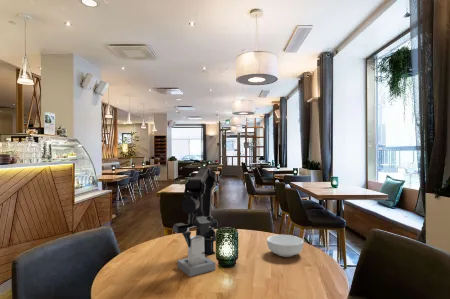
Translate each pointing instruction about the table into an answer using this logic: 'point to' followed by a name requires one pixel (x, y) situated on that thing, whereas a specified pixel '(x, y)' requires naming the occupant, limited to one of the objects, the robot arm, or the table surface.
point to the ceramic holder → (196, 267)
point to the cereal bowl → (285, 245)
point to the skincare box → (196, 251)
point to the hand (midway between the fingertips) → (196, 245)
